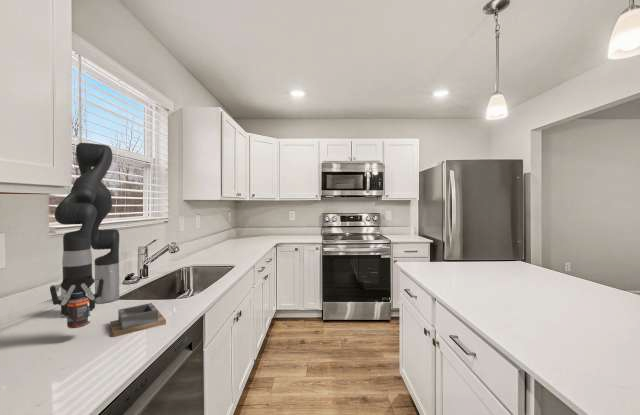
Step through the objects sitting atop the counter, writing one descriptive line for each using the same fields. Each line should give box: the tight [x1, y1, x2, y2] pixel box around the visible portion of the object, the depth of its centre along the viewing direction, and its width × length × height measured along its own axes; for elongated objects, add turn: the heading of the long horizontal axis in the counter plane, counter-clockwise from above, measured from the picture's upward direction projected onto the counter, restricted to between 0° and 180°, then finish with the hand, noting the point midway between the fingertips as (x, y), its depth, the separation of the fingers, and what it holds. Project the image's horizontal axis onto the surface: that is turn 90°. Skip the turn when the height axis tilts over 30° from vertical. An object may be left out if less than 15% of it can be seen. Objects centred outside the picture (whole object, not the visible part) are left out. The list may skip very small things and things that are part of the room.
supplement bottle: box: [66, 292, 91, 329], centre depth 96 cm, size 6×6×11 cm
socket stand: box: [109, 302, 167, 338], centre depth 107 cm, size 12×16×6 cm
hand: (78, 312), depth 96 cm, fingers closed on supplement bottle, 6 cm apart
